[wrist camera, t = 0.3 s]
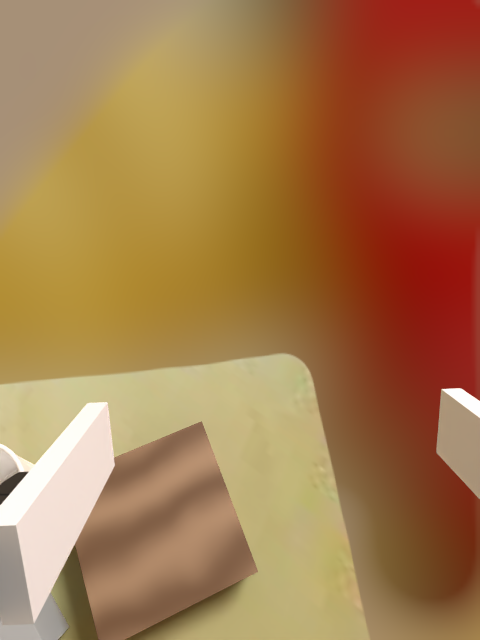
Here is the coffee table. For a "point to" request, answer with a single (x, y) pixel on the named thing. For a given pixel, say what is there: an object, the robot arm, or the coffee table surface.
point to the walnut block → (160, 536)
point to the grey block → (38, 625)
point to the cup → (11, 464)
